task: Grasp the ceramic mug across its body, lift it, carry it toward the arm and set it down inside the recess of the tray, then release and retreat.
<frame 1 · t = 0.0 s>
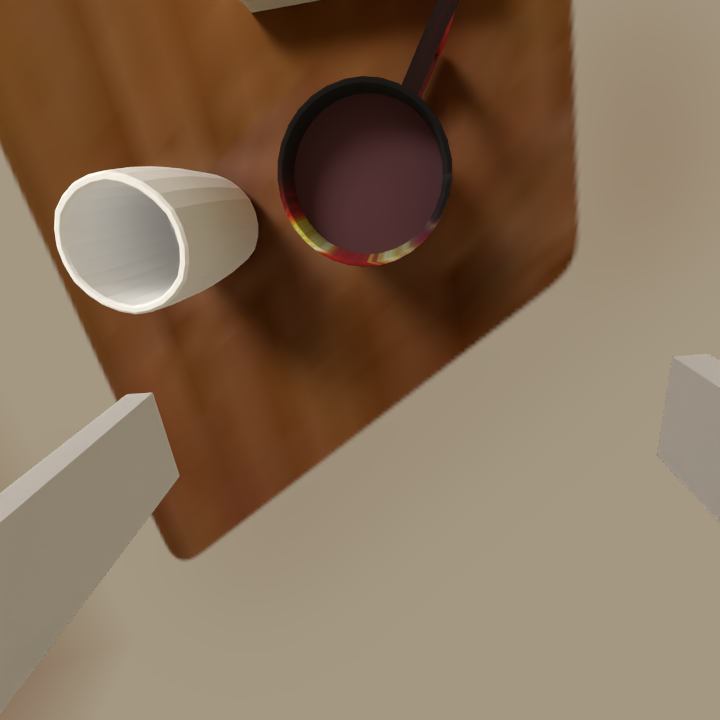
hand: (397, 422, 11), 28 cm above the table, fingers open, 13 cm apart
cup: (218, 223, 38), on the table
mug: (376, 149, 35), on the table
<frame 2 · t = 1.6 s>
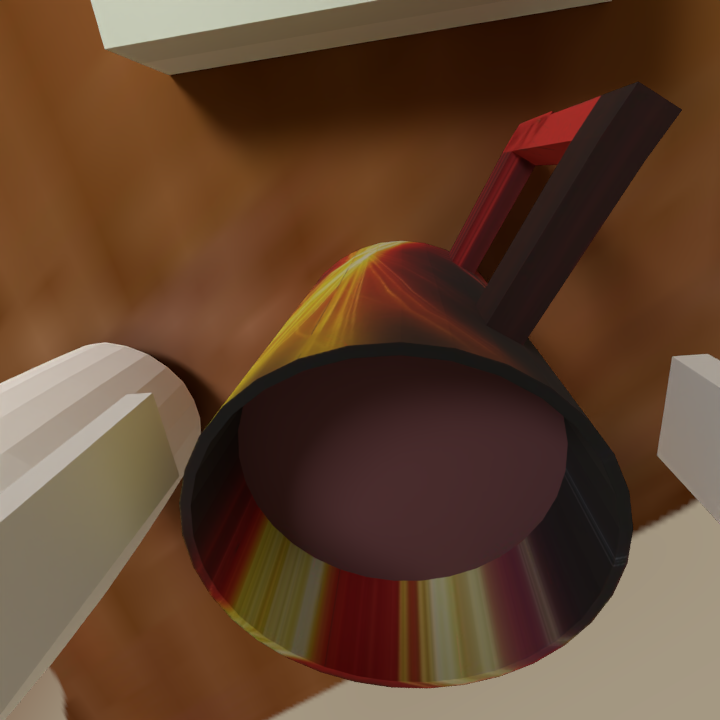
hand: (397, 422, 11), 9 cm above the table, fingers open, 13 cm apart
cup: (140, 402, 23), on the table
mug: (400, 301, 20), on the table
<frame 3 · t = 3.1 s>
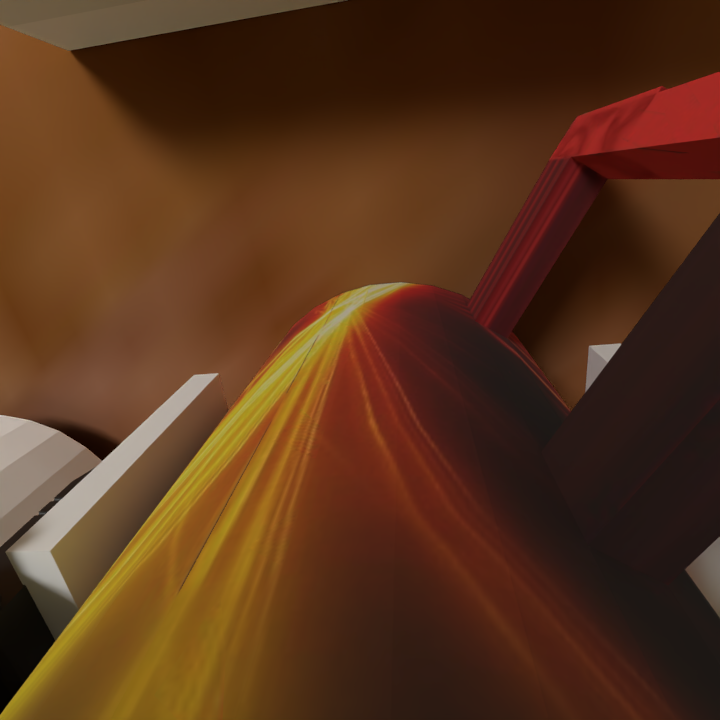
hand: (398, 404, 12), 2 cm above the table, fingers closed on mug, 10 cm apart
cup: (62, 482, 18), on the table
mug: (399, 362, 15), on the table, touching gripper
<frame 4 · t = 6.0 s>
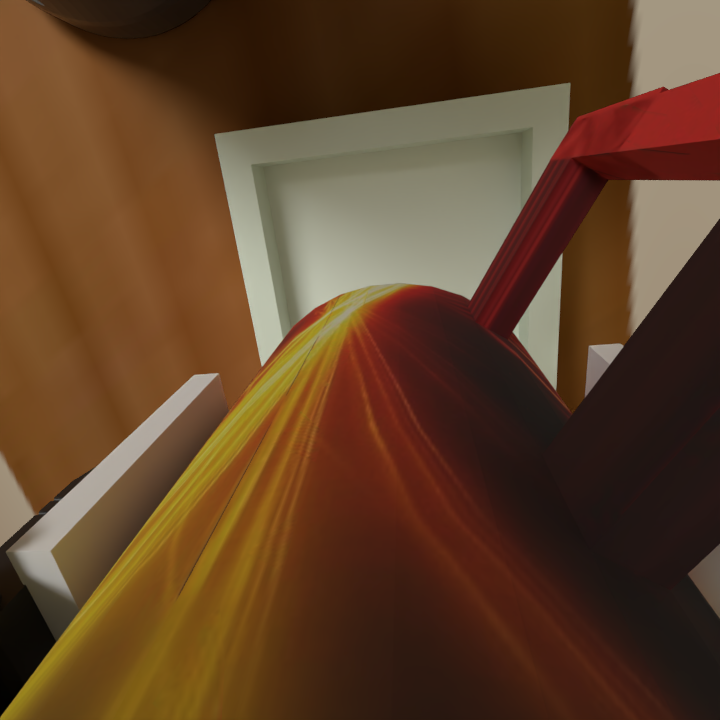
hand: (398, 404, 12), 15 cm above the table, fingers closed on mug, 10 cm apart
tray: (400, 289, 27), on the table
mug: (399, 363, 15), point 13 cm above the table, touching gripper
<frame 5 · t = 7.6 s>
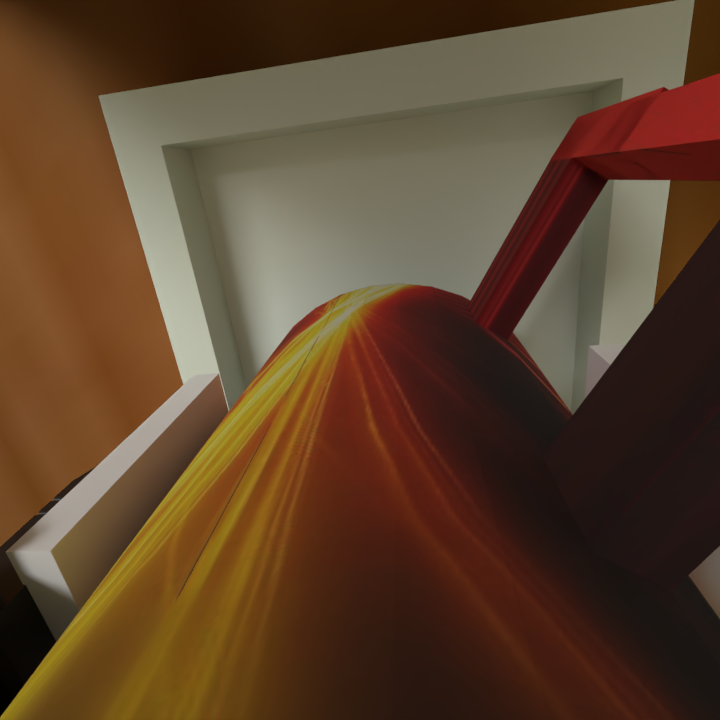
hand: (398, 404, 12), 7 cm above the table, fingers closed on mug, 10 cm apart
tray: (399, 324, 19), on the table
mug: (399, 363, 15), point 5 cm above the table, touching gripper
when the fingers open (6 cm above the table, at t = 8.9 s): mug drops 1 cm, resting on tray.
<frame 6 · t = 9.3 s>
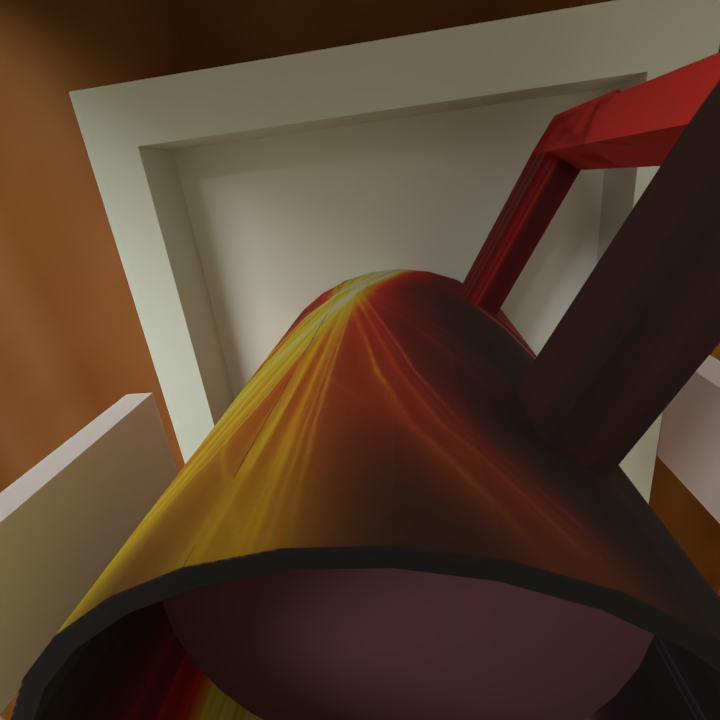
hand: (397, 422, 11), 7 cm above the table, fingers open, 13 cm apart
tray: (399, 337, 18), on the table
mug: (400, 343, 16), point 2 cm above the table, touching tray
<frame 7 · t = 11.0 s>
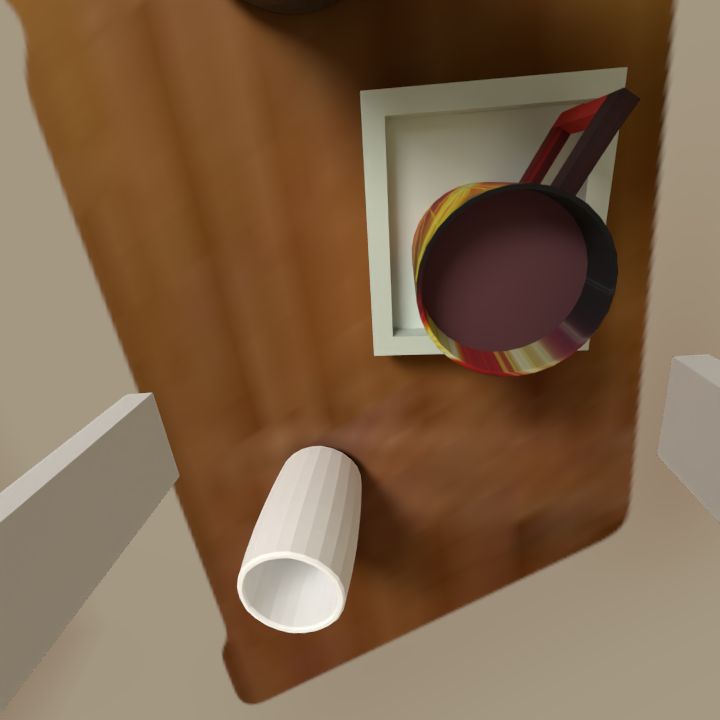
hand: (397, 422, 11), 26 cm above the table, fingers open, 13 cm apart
tray: (474, 225, 34), on the table
cup: (324, 471, 44), on the table
mug: (480, 221, 32), point 2 cm above the table, touching tray
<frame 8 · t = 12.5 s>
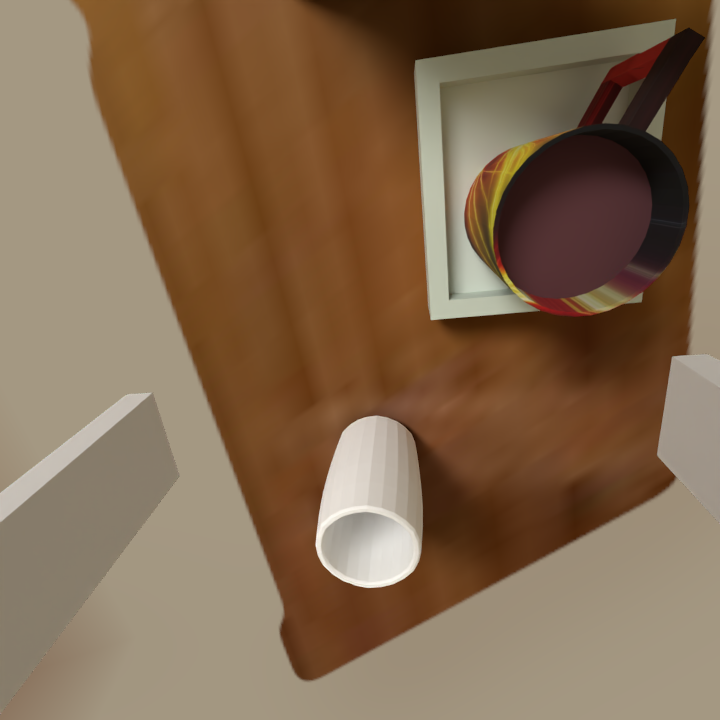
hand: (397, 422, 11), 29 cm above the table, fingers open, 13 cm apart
tray: (522, 188, 35), on the table
cup: (377, 442, 46), on the table
mug: (530, 182, 33), point 2 cm above the table, touching tray
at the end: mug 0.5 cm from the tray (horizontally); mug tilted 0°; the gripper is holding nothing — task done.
